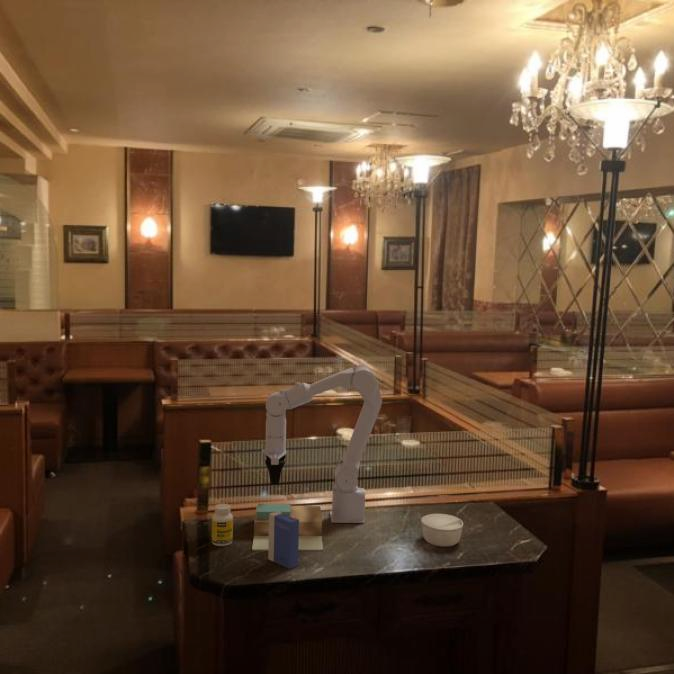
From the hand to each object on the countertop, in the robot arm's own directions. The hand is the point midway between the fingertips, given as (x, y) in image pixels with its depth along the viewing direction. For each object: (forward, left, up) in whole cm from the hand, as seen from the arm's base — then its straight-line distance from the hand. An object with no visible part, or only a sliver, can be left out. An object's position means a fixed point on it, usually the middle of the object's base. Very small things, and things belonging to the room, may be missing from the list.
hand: (275, 482), depth 196 cm
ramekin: (-45, +16, -11) cm, 49 cm away
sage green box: (0, +9, -6) cm, 11 cm away
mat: (-4, +18, -10) cm, 21 cm away
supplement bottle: (+13, +18, -11) cm, 24 cm away
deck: (-4, +8, -10) cm, 13 cm away
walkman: (-3, +30, -11) cm, 31 cm away
